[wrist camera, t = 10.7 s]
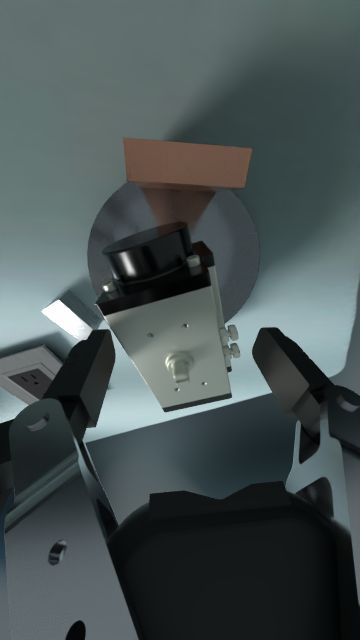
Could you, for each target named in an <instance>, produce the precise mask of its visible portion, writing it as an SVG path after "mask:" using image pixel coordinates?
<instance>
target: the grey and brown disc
mask: <svg viewBox="0 0 360 640" xmlns="http://www.w3.org/2000/svg"><path fill="white" fill-rule="evenodd" d="M123 143H124V153H125V163H126V173H127V181H129V182H128V183H126V184H124V185H123V186H122V187H121V188H119V189H118V190H117V191H116V192H115V193H113V195H112V196H111V197H110V198H109V199H108V200H107V202H106V203H105V204H104V205H103V207H102V208H101V210H100V212H99V213H98V215H97V217H96V219H95V222H94V224H93V226H92V229H91V233H90V237H89V242H88V252H87V256H88V268H89V274H90V278H91V281H92V284H93V287H94V289H95V291H96V294H97V296H98V297H100V296H101V294H102V293H103V291H104V288H103V287H102V284H103V283H105V282H107V281H109V280H111V279H112V278H113V275H112V273H111V271H110V269H109V267H108V266H107V264H106V262H105V260H104V258H103V256H102V254H101V251H102V250H103V249H104V248H105V247H107V246H108V245H110V244H112V243H114V242H116V241H118V240H121V239H123V238H125V237H128V236H130V235H133V234H136V233H138V232H141V231H144V230H147V229H150V228H154V227H157V226H161V225H164V224H169V223H173V222H181V221H183V222H187V224H188V227H189V232H190V236H191V241H192V243H195V242H198V241H203V242H204V243H205V244H206V246H207V247H208V248H209V249H210V250H211V251H212V252H213V256H214V262H215V268H216V275H217V281H218V287H219V293H220V300H221V306H222V312H223V319H224V324H225V323H226V322H228V321H229V320H230V319H231V318H232V317H233V316H234V315H235V314H236V313H237V312H238V311H239V310H240V309H241V307H242V306H243V305H244V303H245V302H246V300H247V299H248V297H249V295H250V293H251V291H252V289H253V286H254V284H255V281H256V278H257V274H258V269H259V261H260V247H259V240H258V234H257V231H256V228H255V225H254V222H253V220H252V218H251V216H250V214H249V212H248V210H247V209H246V207H245V206H244V204H243V203H242V201H241V200H240V199H239V198H238V197H237V196H236V195H235V194H234V193H233V192H232V191H231V190H233V189H240V188H245V183H246V178H247V173H248V168H249V163H250V158H251V154H252V149H253V148H243V147H231V146H219V145H207V144H195V143H182V142H170V141H158V140H146V139H134V138H123Z"/></svg>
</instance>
